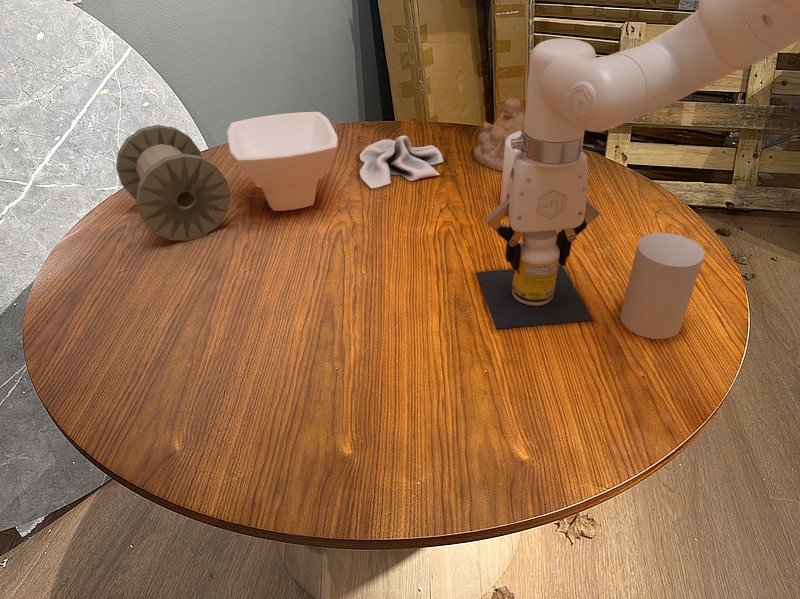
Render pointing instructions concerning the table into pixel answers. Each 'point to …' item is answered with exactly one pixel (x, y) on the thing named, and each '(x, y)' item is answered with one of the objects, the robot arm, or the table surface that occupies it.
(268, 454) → the table surface
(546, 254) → the pill bottle
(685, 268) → the grey upright cylinder
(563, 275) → the mat
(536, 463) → the table surface
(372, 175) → the cloth
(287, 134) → the bowl
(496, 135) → the statue
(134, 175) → the spool
